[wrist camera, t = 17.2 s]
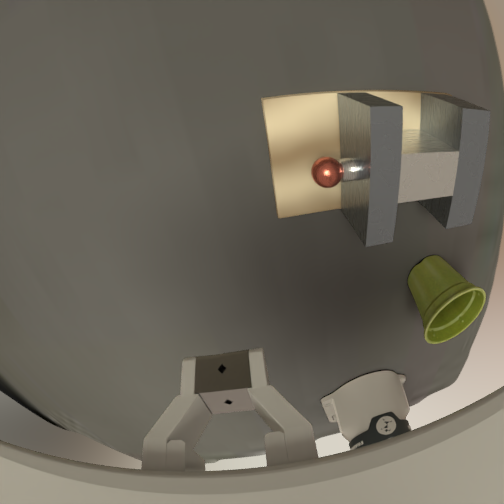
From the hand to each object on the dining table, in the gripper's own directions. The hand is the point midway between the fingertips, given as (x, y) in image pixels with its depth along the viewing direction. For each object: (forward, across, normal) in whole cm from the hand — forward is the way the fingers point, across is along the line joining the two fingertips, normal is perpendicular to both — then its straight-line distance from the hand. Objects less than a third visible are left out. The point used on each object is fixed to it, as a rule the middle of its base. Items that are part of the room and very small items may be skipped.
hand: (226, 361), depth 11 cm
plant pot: (+20, -24, +17) cm, 35 cm away
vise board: (+19, -13, -1) cm, 23 cm away
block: (+18, -16, -1) cm, 24 cm away
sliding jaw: (+17, -10, -1) cm, 20 cm away
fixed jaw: (+18, -20, -1) cm, 27 cm away
